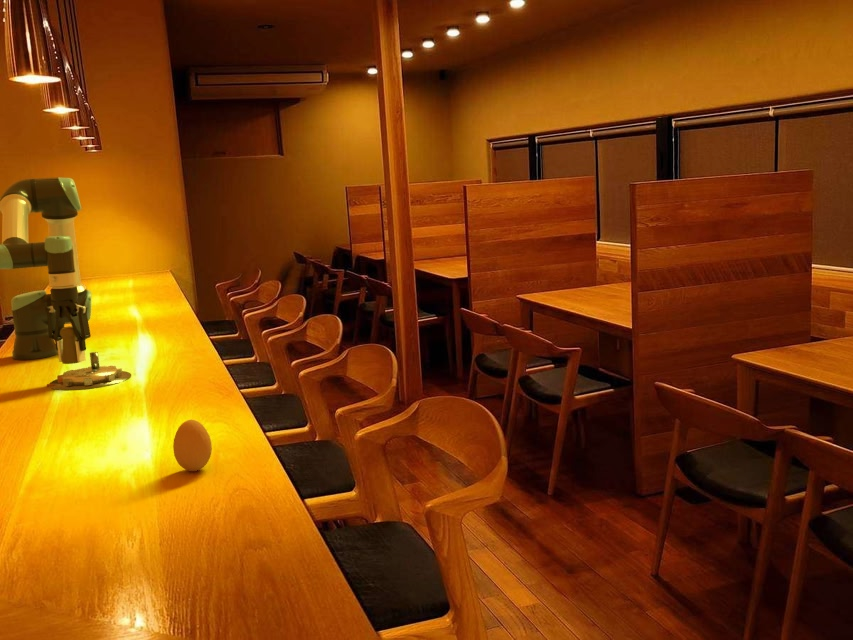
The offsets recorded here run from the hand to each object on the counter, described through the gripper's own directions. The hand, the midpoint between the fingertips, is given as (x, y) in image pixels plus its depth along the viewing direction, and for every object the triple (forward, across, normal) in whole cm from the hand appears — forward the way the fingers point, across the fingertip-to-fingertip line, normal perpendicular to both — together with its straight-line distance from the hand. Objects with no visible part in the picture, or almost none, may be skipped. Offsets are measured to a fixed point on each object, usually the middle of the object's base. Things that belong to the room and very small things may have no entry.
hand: (72, 360), depth 246 cm
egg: (+8, +81, -64) cm, 103 cm away
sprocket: (+7, +3, +3) cm, 8 cm away
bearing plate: (+7, +3, +3) cm, 8 cm away
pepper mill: (0, 0, 0) cm, 0 cm away
